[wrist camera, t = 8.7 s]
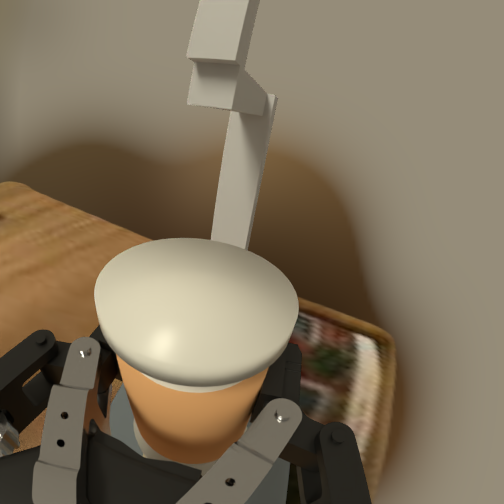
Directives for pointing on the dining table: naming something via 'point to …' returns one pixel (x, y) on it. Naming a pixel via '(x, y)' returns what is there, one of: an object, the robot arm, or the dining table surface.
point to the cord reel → (193, 341)
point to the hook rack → (227, 165)
